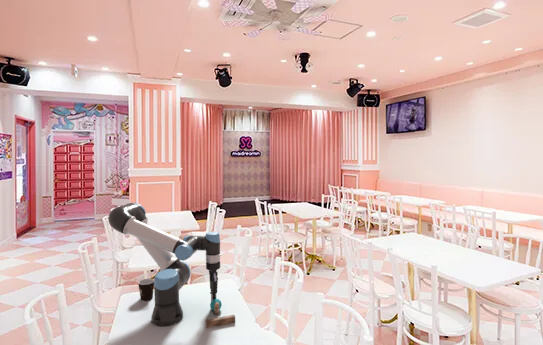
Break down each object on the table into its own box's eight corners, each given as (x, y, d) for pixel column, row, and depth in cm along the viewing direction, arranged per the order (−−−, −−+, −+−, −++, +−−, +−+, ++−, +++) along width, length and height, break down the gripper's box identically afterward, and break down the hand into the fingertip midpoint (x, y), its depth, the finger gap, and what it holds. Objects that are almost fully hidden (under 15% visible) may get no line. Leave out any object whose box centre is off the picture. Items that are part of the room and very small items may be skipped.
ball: (209, 313, 167) (211, 305, 164) (208, 304, 172) (210, 296, 170) (221, 313, 168) (223, 304, 166) (220, 304, 174) (221, 296, 171)
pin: (214, 315, 164) (215, 307, 159) (213, 310, 166) (214, 302, 161) (219, 314, 165) (219, 306, 160) (218, 309, 167) (219, 301, 162)
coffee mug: (138, 296, 186) (138, 279, 185) (154, 294, 189) (154, 277, 188) (138, 305, 175) (137, 287, 174) (155, 302, 178) (154, 285, 177)
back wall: (206, 328, 152) (206, 322, 152) (205, 325, 154) (205, 319, 154) (235, 322, 157) (235, 316, 157) (234, 320, 159) (234, 314, 159)
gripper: (222, 264, 166) (223, 308, 168) (217, 256, 178) (218, 297, 180) (208, 266, 163) (208, 310, 165) (204, 258, 176) (204, 299, 177)
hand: (213, 303), depth 172 cm, fingers closed
